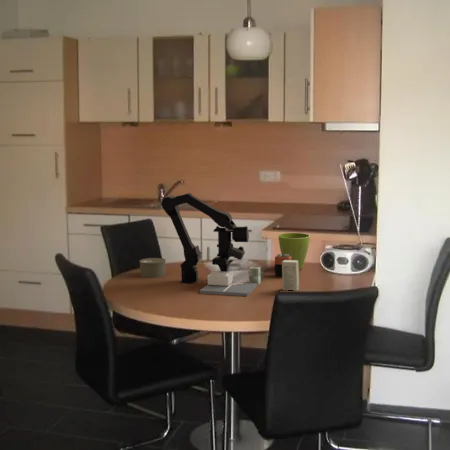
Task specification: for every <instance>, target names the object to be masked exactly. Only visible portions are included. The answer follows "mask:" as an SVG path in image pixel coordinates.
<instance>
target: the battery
mask: <svg viewBox="0 0 450 450" xmlns="http://www.w3.org/2000/svg"><path fill="white" fill-rule="evenodd" d="M284 260H292V257H291V256H289V254H284V255H282V254H280V253H277V255H276V256H274V277H278V278H279V277H281V278H282V262H283V261H284Z"/></svg>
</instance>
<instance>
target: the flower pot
mask: <svg viewBox="0 0 450 450" xmlns="http://www.w3.org/2000/svg"><path fill="white" fill-rule="evenodd" d="M277 237H278V244H279V249H280V253H281V255H284V254H289V256H291V257H292V260H298V264H299V271H300V270H302V269H303V265H304V264H305V260H306V258H307V254H308V250H309V245H310V239H311V235H310V234H307V233H303V232H286V233H281V234H278V236H277Z"/></svg>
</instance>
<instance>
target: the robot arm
mask: <svg viewBox="0 0 450 450" xmlns="http://www.w3.org/2000/svg"><path fill="white" fill-rule="evenodd" d="M160 203H161V204H160V205H161V207H162V209H163V210H164V212H165V213H166V214H167V216H169V218H170V219H171V223H172V225H173V226H174V229H175V231H176V233H177V236H178V238H179V240H180V244H181V245H182V247H183V248H182V249H183V256H184V261H183V262H182V263H181V264H180V265H179V266H180V268H181V271H180V272H181V280H180V283H182V284H183V283H185V284H187V283H188V284H195V283H196V282H198V281H199V271H198V267H197V265H198V263H200V261H201V260H202V254H203V253H202V251H201V250H200V247H199V245H194V242H193V241H192V239H191V237H190V235H189V232H188V230H187V228H186V226H185V225H186V224H185V223H184V221H183V218H182V216H181V214H180V211H181V210H180V205H183V204H187V205H190V206H191V207H193V208H195V209H196V210H198V211H199V212H201V213H203V214H204V215H206V216H208V217H209V218H211V220H212V221H213V222H214V223H215V224H216V227H215V228H214V229H213V232H215V233H216V232H217V244H216V247H217V249H218V252H217V254H216V256H215V257H213V259H212V260H211V264H212V265H213V266H215V265H217V266H218V269H219V270H220V271H224V272H229V269H230V265H231V264H232V263H233V262H234V259H236V260H239V261H241V260H242V259H243V258H244V255H245V253H246V252H245V251H246V250H245V249H244V248H245V247H244V246H242V245H240V246H238V247H234V244H233V242H232V240H233V241H234V242H235V243H249V238H250V234H249V229H248V226H247V225H246V226H245V225H244V226H237V225H236V223H235V222H234V221H233V217H232V214H230V213H229V212H227V211H224V210H222V209H217V208H215V207H213V206H212V205H210V204H208V203H206V202H205V201H203V200H201V199H200V198H198V197H197V196H195V195H193V194H192V193H191V192H186V193H185V194H180V195H177V196H174V195H168V196H165V197H164V198H163V199H162V200H161V202H160ZM231 257H233V258H234V259H231Z"/></svg>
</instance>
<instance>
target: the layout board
mask: <svg viewBox="0 0 450 450" xmlns="http://www.w3.org/2000/svg"><path fill="white" fill-rule="evenodd" d="M242 283H243V284H237V285H228V286H224V285H208V284H206V285H205V286H204V287H202V288H201V289H200V290H199V293H200V294H205V295H208V294H209V295H221V296H222V295H223V296H237V297H239V296H240V297H248V296H249V295H250V294H251V293H252V292H253V291H254V290H255V289H256V288H257V287H258V285H257V283H249V282H242Z"/></svg>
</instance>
